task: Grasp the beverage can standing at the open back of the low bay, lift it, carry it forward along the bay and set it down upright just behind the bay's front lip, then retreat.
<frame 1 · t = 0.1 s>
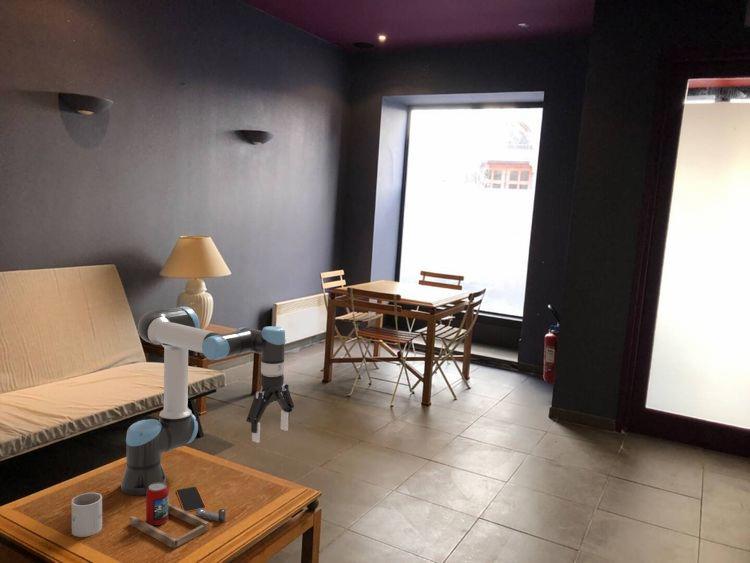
hand: (270, 435, 195), 28 cm above the table, fingers open, 13 cm apart
beverage can: (157, 521, 191), on the table
crank handle: (210, 517, 195), on the table
smartphone: (190, 501, 206), on the table
bay: (169, 527, 188), on the table
mug: (88, 526, 186), on the table
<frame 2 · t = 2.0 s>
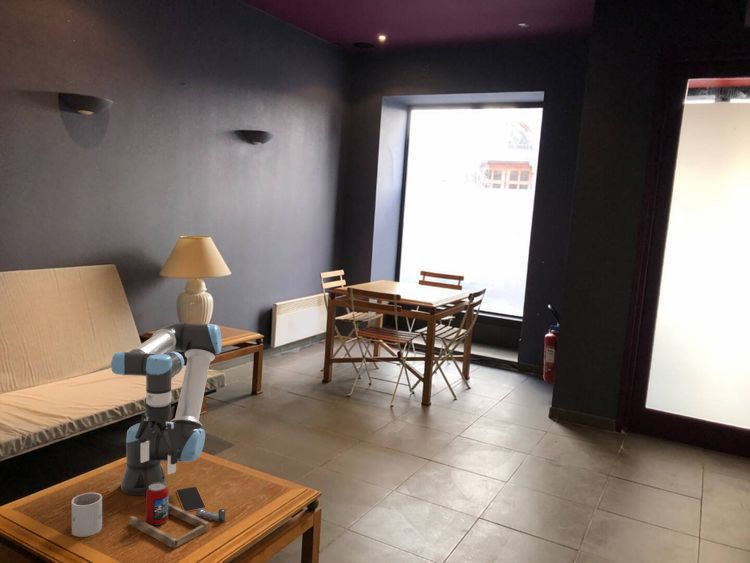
hand: (158, 467, 189), 18 cm above the table, fingers open, 13 cm apart
nothing on the table moved.
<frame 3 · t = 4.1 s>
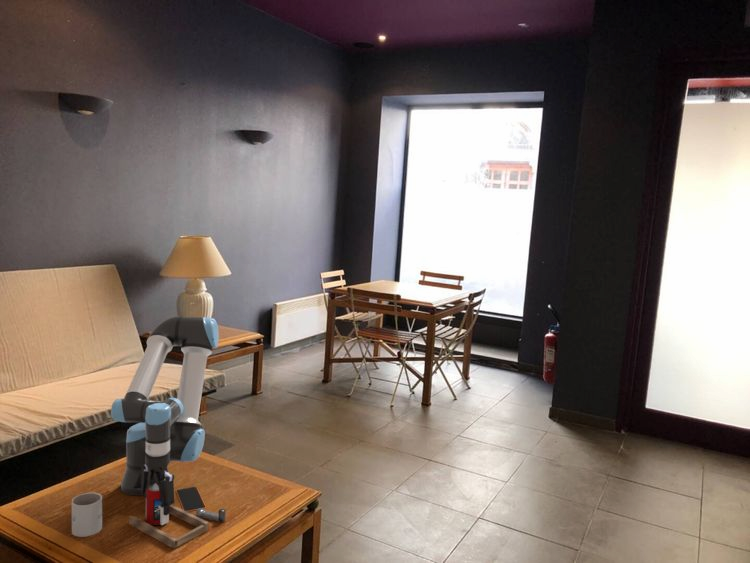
hand: (157, 519, 191), 1 cm above the table, fingers closed on beverage can, 7 cm apart
beverage can: (157, 521, 191), on the table, touching gripper
everything else where it was.
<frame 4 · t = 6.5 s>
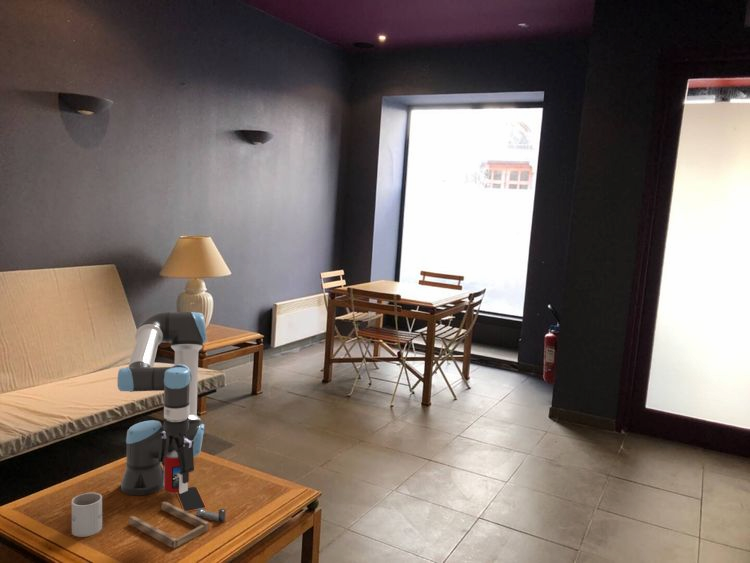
hand: (175, 488, 184), 14 cm above the table, fingers closed on beverage can, 7 cm apart
beverage can: (175, 490, 184), point 13 cm above the table, touching gripper
everything else where it was.
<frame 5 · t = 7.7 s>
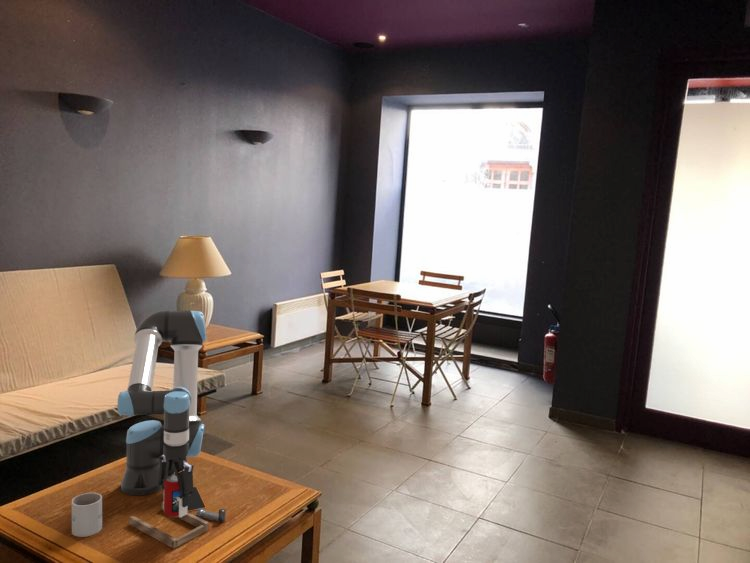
hand: (175, 511, 185), 6 cm above the table, fingers closed on beverage can, 7 cm apart
beverage can: (175, 513, 185), point 6 cm above the table, touching gripper
everything else where it was.
when the fingers open (2 cm above the table, at t = 8.8 s): beverage can drops 2 cm, on the table.
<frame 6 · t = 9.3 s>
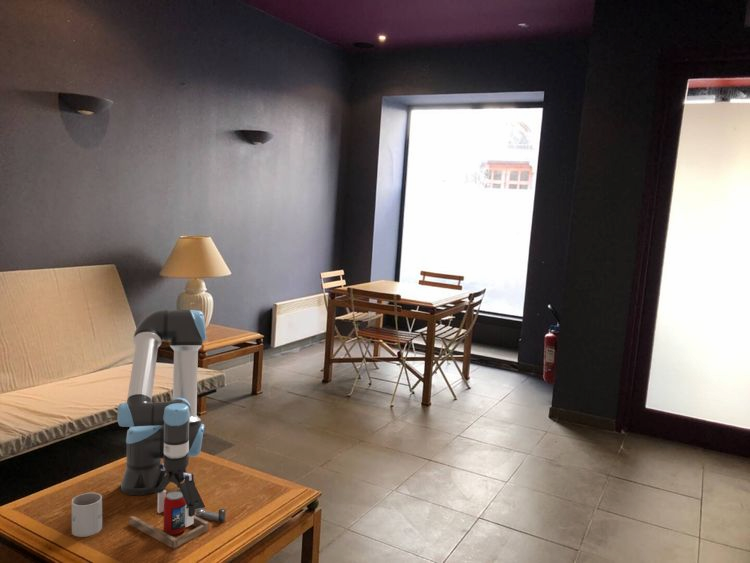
hand: (175, 518, 186), 4 cm above the table, fingers open, 13 cm apart
beverage can: (174, 530, 186), on the table
everything else where it was.
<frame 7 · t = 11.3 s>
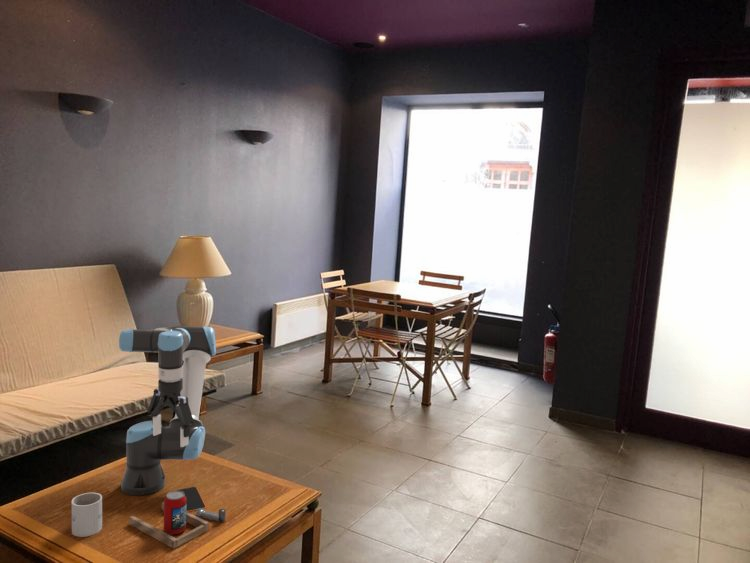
hand: (170, 439, 194), 25 cm above the table, fingers open, 13 cm apart
nothing on the table moved.
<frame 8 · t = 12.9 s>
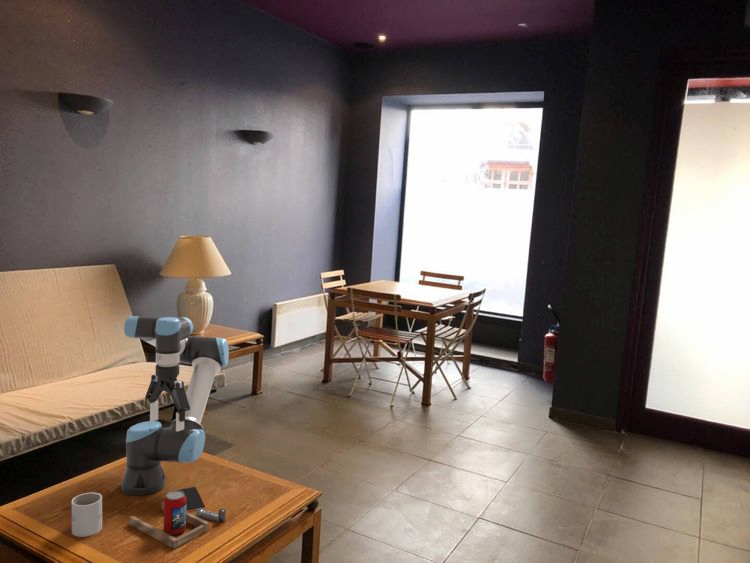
hand: (166, 425, 198), 29 cm above the table, fingers open, 13 cm apart
nothing on the table moved.
at the end: beverage can inside the target area on the bay (2.1 cm from its centre), point 0.0 cm above the bay's base; beverage can tilted 0°; the gripper is holding nothing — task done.
